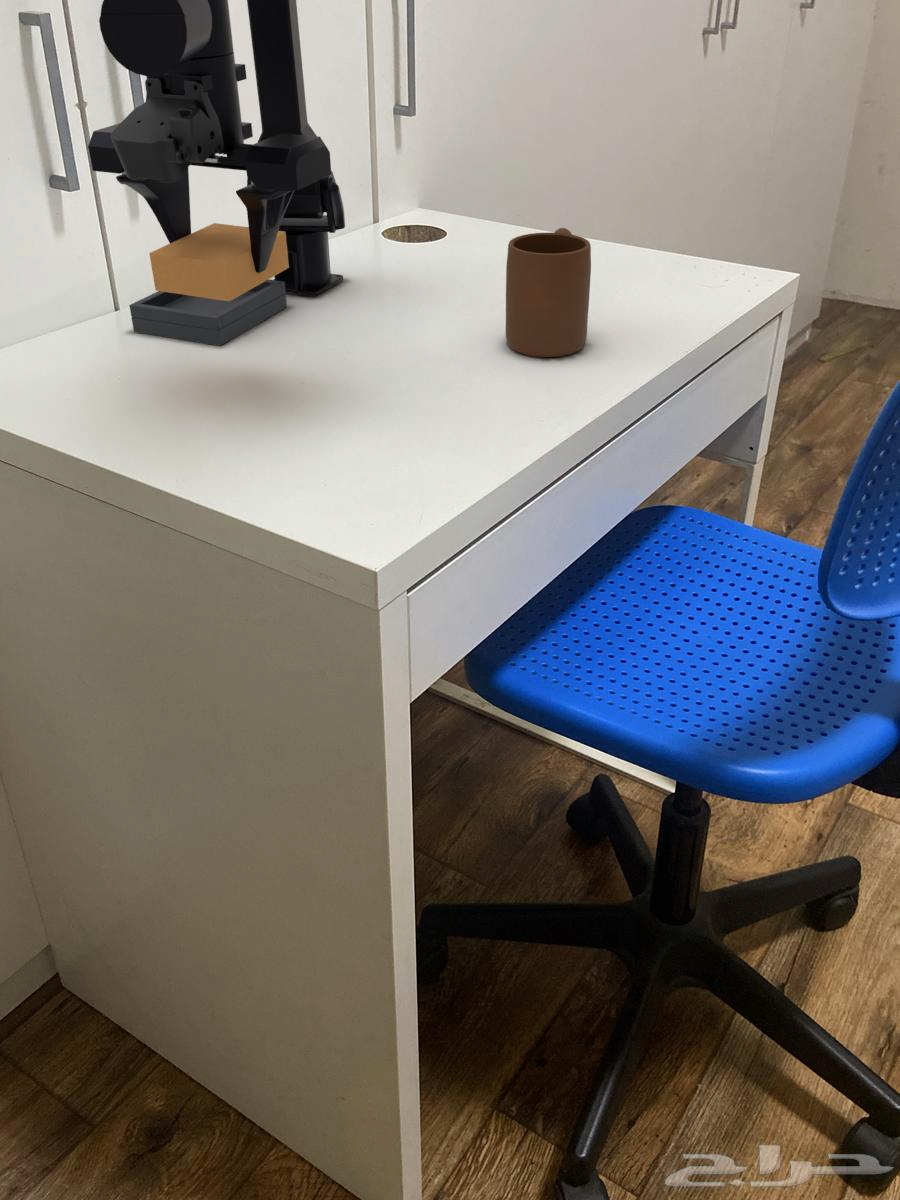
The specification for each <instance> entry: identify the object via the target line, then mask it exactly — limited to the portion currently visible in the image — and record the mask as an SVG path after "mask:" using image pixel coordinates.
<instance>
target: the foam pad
mask: <svg viewBox="0 0 900 1200" xmlns="http://www.w3.org/2000/svg"><path fill="white" fill-rule="evenodd" d="M149 260H150V266H151V271H152V278H153V283H154V290H155V291H156V292H158V291H162V292H169V293H176V294H182V295H189V296H196V297H203V298H210V299H216V300H223V301H231V300H233V299H235V298H237V297H238V296H240V295H242V294H244V293H245V292H247V291H249V290H251V289H252V288H254V287H256V286H258V285H259V284H261V283H263V282H265V281H266V280H268V279H269V280H271V279H272V278H273V277H274V276H275V275H277V274H279V273H281V272H282V271H284V270H286V269H288V268H289V262H288V252H287V242H286V232H284V231H278V233H277V237H276V240H275V243H274V246H273V249H272V252H271V256H270V259H269V262H268V265H267V268H266V270H265V271H263V272H261V273H257V272H256V271H255V266H254V262H253V258H252V253H251V244H250V235H249V226H242V225H233V224H226V223H217V222H213V223H211V224H209V225H207V226H205V227H202V228H201V229H199V230H196V231H194V232H191V234H190V235H187V236H185V237H183V238H181V239H179V240H177V241H174V242H172V243H168V244H166V245H164V246H162V247H159V248H157V249H155V250H153V251H150V252H149Z"/></svg>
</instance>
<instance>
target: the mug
mask: <svg viewBox="0 0 900 1200" xmlns="http://www.w3.org/2000/svg"><path fill="white" fill-rule="evenodd" d="M505 273H506V274H505V339H506V343H507V344H508V346H509V347H510V348H511V349H512V350H513V351H515V352H517V353H519V354H522V355H525V356H530V357H538V358H557V357H563V356H568V355H572V354H574V353H576V352H578V351H579V350H581V349H582V348H583V347H584V345H585V343H586V341H587V335H588V320H589V307H590V293H591V274H592V245H591V242H590V241H589V240H588V239H587V238H584V237H582V236H579V235H575V234H572V232H571V231H570V230H569V229H568V228H565V227H559V228H558V229H556V230H555V231H554V232H534V233H527V234H522V235H518V236H516V237H513V238H512V239H511V240H509V242H508V245H507V257H506V268H505Z"/></svg>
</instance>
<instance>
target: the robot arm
mask: <svg viewBox="0 0 900 1200" xmlns="http://www.w3.org/2000/svg"><path fill="white" fill-rule="evenodd" d="M246 5H247V13H248V22H249V29H250V38H251V48H252V54H253V55H252V56H253V63H254V64H253V65H254V73H255V81H256V82H255V83H256V89H257V98H258V108H259V115H260V125H261V133H260V135H259V138H258V140H257V142H256V143H252V144H251V143H245V140H249V139H251V138H253V136H254V134H253V125H252V122H245V121H243V120H242V114H241V113H242V112H241V103H240V95H239V87H238V82H241V81H244V80H247V69H246V64H245V63H236V59H235V51H234V44H233V43H234V42H233V33H232V26H231V16H230V7H229V0H102V4H101V8H100V14H99V15H100V16H99V19H98V22H99V30H100V33H101V36H102V40H103V42H104V44H105V46H106V48H107V50H108V52H109V53H110V54H111V55H112V57H113V58H114V59H115V61H116V62H117V63H118V64H120V65H121V66H122V67H124V68H125V69H126V70H128V71H130V72H132V73H134V74H136V75H140V76H144V77H146V78H145V81H144V85H145V94H146V95H145V101H144V102H143V103H142V104H141V105H138V106H136V107H135V108H134V109H132V111H131V112H129V113H128V115H126V117H125V118H124V119H123V120H122V121H121V122H118V123H116V124H113V125H109V126H106V127H102V128H99V129H96V130H93V132H92V134H91V137H90V139H89V143H88V145H87V151H88V156H89V161H90V166H91V170H92V172H99V173H101V172H102V173H111V174H119V175H117V176H116V177H115V179H116V180H117V182H118V183H119V184H120V185H125V186H128V187H129V188H131V189H132V190H133V191H135V192H136V193H138V194H139V195H140V196H142V198H143V199H144V200H145V202H146V203H147V204H148V206H149V208H150V209H151V211H152V213H153V214H154V216H155V218H156V220H157V222H158V223H159V225H160V228H161V230H162V231H163V234H164V235H165V237H166V239H167V241H168V244H170V243H172V242H174V241H177V240H179V239H181V238H183V237H185V236H187V235H190V234H192V221H191V199H190V175H189V174H190V173H189V172H190V171H189V168H190V166H194V167H206V168H213V169H214V168H215V169H223V170H225V169H226V170H234V171H235V170H236V171H244V172H246V177H247V178H246V186H244V187H242V188H239V189H237V190H235V193H236V195H237V197H238V198H239V200H240V201H241V202H242V204H243V205H244V207H245V208H246V214H247V215H246V216H247V223H248V227H249V235H250V244H251V253H252V258H253V262H254V266H255V271H256V272H257V273H261V272H263V271H265V270H266V268H267V265H268V262H269V259H270V256H271V252H272V249H273V246H274V243H275V240H276V237H277V233H278V231H284V232H286V242H287V252H288V262H289V268H288V269H286V270H284V271H282V272H281V273H279V274H277V275H275V276H273V277H274V279H272V280H276V281H284V282H285V293H288V294H294V295H295V294H296V295H302V296H310V297H317V296H319V295H320V294H322V293H324V292H326V291H328V290H329V289H330V288H332V287H334V286H336V285H337V284H339V283H341V282H342V281H344V275H343V274H336V273H332V271H331V259H330V244H329V234H335V233H336V232H337V231H339V230H343V229H344V230H345V228H346V219H345V218H346V217H345V208H344V203H343V198H342V194H341V190H340V186H339V184H337V182H336V178H335V175H334V172H333V171H332V166H331V165H332V163H331V152H330V150H329V148H328V147H327V145H326V143H325V142H324V141H323V139H322V137H321V136H317V135H316V133H315V131H314V130H313V128H312V127H311V126H310V124H309V122H308V121H309V120H308V112H307V101H306V92H305V82H304V71H303V70H304V69H303V58H302V48H301V38H300V26H299V25H300V24H299V16H298V6H297V5H298V4H297V0H246ZM225 155H226V156H225ZM325 213H326V214H325Z"/></svg>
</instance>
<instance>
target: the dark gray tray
mask: <svg viewBox="0 0 900 1200" xmlns="http://www.w3.org/2000/svg"><path fill="white" fill-rule="evenodd" d="M286 308H288V305H287V294H286V292H285V282H284V281H276V280H273V279H268V280H266V281H265V282H263V283H261V284H259V285H258V286H256V287H254V288H252V289H251V290H249V291H247V292H245V293H244V294H242V295H240V296H238V297H237V298H235V299H233V300H231V301H223V300H216V299H210V298H203V297H196V296H189V295H182V294H176V293H169V292H162V291H156V292H154V293H152V294H150V295H147V296H145V297H144V298H141V299H139V300H137V301H135V302H133V303H131V304H129V311H130V317H131V323H132V329H133V332H134V333H138V334H144V335H150V336H151V335H152V336H157V337H164V338H170V339H176V340H182V341H188V342H195V343H202V344H206V345H207V344H208V345H214V346H221V347H222V346H223V345H225V344H226V343H228V342H230V341H231V340H233V339H235V338H236V337H239V336H240V335H242V334H243V333H245V332H247V331H248V330H250V329H252V328H255V326H257V325H259V324H260V323H262V322H264V321H266V320H268V319H269V318H271V317H272V316H275V315H276V314H278V313H280V312H282V311H283V310H285V309H286Z"/></svg>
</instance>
